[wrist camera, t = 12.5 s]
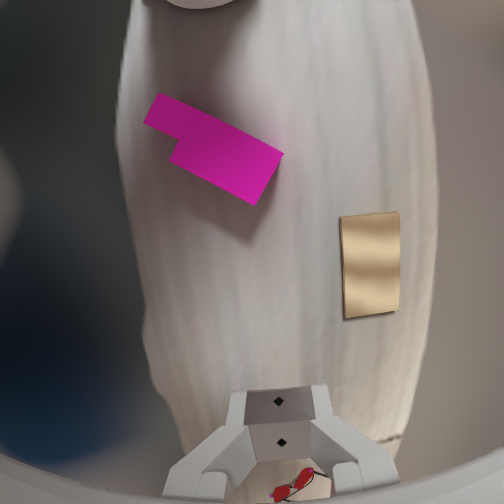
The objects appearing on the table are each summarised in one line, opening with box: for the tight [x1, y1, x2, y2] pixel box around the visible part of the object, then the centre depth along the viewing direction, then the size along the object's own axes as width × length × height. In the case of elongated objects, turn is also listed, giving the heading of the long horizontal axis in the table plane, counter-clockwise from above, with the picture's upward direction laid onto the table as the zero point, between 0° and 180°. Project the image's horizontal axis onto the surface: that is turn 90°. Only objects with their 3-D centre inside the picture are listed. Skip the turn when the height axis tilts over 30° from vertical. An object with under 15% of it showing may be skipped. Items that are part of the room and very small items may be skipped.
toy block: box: [143, 93, 284, 206], centre depth 36 cm, size 15×6×8 cm, turn 62°
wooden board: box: [340, 211, 400, 318], centre depth 42 cm, size 14×8×1 cm, turn 8°
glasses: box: [270, 468, 329, 503], centre depth 55 cm, size 14×16×5 cm
